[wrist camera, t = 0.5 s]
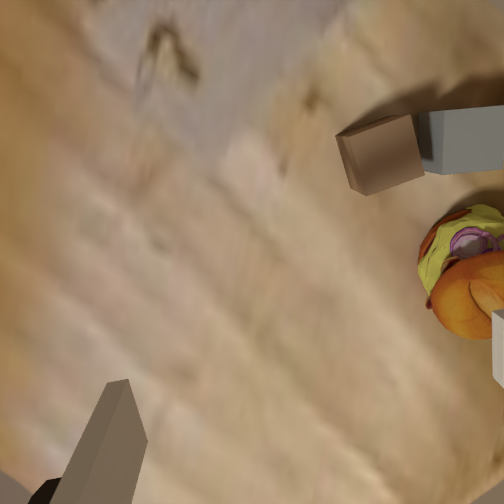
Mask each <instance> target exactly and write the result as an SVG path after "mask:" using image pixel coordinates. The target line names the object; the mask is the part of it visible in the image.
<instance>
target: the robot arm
mask: <svg viewBox="0 0 504 504" xmlns="http://www.w3.org/2000/svg"><path fill="white" fill-rule="evenodd" d="M492 355H493V378H494V379H495V380H496V381H497V382H498V383H499V384H500V385H501V386H502V387H503V388H504V309H499V310H494V311H492ZM147 442H148V440H147V437H146V434H145V430H144V427H143V424H142V421H141V418H140V415H139V412H138V408H137V405H136V402H135V399H134V396H133V393H132V390H131V386H130V383H129V380H128V379H125V380H120V381H114V382H109V383H107V384H106V386H105V389H104V391H103V393H102V395H101V397H100V399H99V401H98V403H97V405H96V407H95V409H94V411H93V414H92V416H91V418H90V420H89V422H88V424H87V426H86V428H85V430H84V432H83V434H82V437H81V439H80V441H79V443H78V445H77V447H76V449H75V451H74V453H73V455H72V457H71V460H70V462H69V464H68V466H67V468H66V470H65V472H64V474H63V476H62V477H61V478H56V479H50V480H46V481H45V483H44V484H43V485H42V486H41V487H40V488H39V489H38V490H37V491H36V492H35V493H34V495H33V496H32V497H31V499H30V501H29V503H28V504H131V503H132V499H133V495H134V491H135V488H136V484H137V480H138V476H139V473H140V469H141V465H142V461H143V457H144V454H145V450H146V446H147Z"/></svg>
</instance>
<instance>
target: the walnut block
mask: <svg viewBox="0 0 504 504" xmlns="http://www.w3.org/2000/svg"><path fill="white" fill-rule="evenodd" d="M335 137H336V140H337V144H338V147H339V151H340V154H341V157H342V161H343V164H344V168H345V171H346V174H347V178H348V181H349V185H350V188H351V189H353V190H355V191H357V192H359V193H361V194H363V195H365V196H368V195H371V194H374V193H377V192H379V191H382V190H385V189H388V188H390V187H393V186H396V185H399V184H401V183H404V182H407V181H410V180H412V179H415V178H418V177H421V176H424V175H425V173H424V169H423V165H422V160H421V156H420V152H419V148H418V144H417V140H416V136H415V132H414V127H413V123H412V119H411V115H410V114H407V115H395V116H387V117H385V118H382V119H379V120H377V121H374V122H371V123H369V124H366V125H363V126H361V127H358V128H355V129H352V130H350V131H347V132H344V133H342V134H339V135H336V136H335Z"/></svg>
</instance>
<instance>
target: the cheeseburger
mask: <svg viewBox="0 0 504 504" xmlns="http://www.w3.org/2000/svg"><path fill="white" fill-rule="evenodd" d="M465 209H466V210H461V211H459V212H457V213H454V214H452V215H450V216H447V217H445V218H444V219H443V220H442V221H441V222H439V223H438V224H437V225H436V226H435V227H434V228H432V229H431V230H430V232H429V233H428V235H427V236H426V238H425V239H424V241H423V242H422V244H421V245H420V251H419V257H418V275H419V276H420V278H421V280H422V283H423V285H424V287H425V289H426V291H427V293H428V295H429V296H428V297H427V299H426V302H425V306H426V308H427V309H432V308H433V312H434V314H435V315H436V317H437V318H438V320H439V321H440V322H441V324H442V325H443V326H444V327H445V328H446V329H448V330H449V331H451V332H453V333H454V334H456V335H458V336H460V337H462V338H467V339H473V340H477V339H489V338H492V311H494V310H499V309H504V217H503V216H502V215H501V213H500V212H499V211H498V210H497V209H495V208H492V207H489V206H487V205H485V204H475V205H473V206H471V207H467V208H465Z"/></svg>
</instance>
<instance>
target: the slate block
mask: <svg viewBox="0 0 504 504" xmlns="http://www.w3.org/2000/svg"><path fill="white" fill-rule="evenodd" d="M418 148H419V152H420V156H421V160H422V165H423V169H424V171H427V172H431V173H436V174H440V175H446V174H457V173H468V172H479V171H490V170H501V169H503V160H504V105H500V106H489V107H478V108H467V109H456V110H444V111H433V112H422V113H419V114H418Z"/></svg>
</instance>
